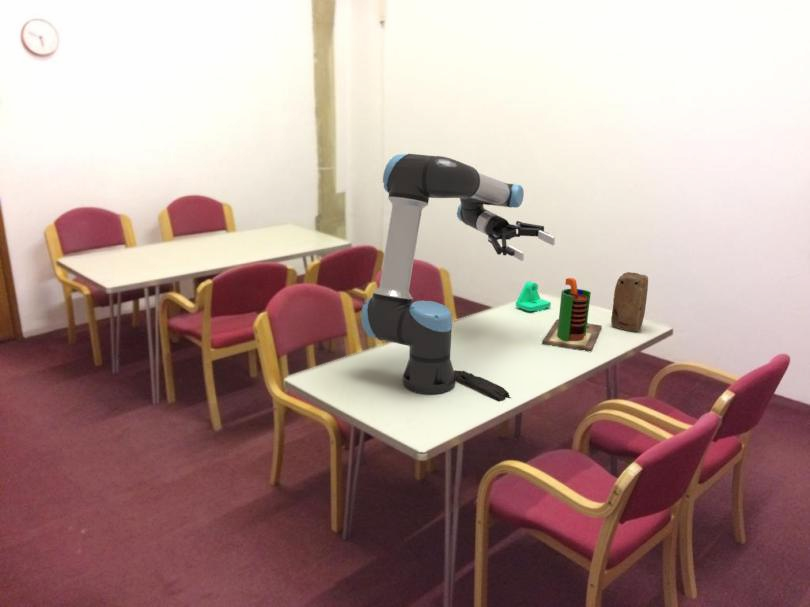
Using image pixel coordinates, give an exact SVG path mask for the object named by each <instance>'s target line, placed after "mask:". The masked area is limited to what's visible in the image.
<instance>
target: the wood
mask: <svg viewBox="0 0 810 607" xmlns="http://www.w3.org/2000/svg"><path fill="white" fill-rule="evenodd" d="M453 370H454V369H453ZM454 373H455V377H456V380H458V381H459V382H461V384H463V385H464V386H466V387H468V388H472V389H474V390H476V391H478V392H479V393H481V394H483V395H485V396H487V397H489V398H491V399H493V400H495V401H497V402H503V401H505V400H506V399H512V397H511V396H510V393H509V392H508V391H507V390H506V388H504V387H502V386H501V385H499V384H497V383H494V382H492V381H490V380H488V379H485V378H483V377H481V376H476V375H475V374H473V373H471V372H467V371H465V370H454Z"/></svg>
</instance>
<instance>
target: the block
mask: <svg viewBox="0 0 810 607" xmlns="http://www.w3.org/2000/svg"><path fill="white" fill-rule="evenodd" d="M648 289H649V277H648V275H645V274H640V273H638V272H629V271H627V272H624V273H622V275H620V276H619V277H618V279H617V281H616V284H615V286H614V291H613V292H614V294H613V298H612V299H613V300H612V301H613V304H612V312H611V318H610V322H611V324H610V325H611V326H612V327H615V328H617V329H621V330H625V331H628V332H638V331H640V330H641V328H642V325H643V322H644V318H645V313H646V305H647V299H648Z"/></svg>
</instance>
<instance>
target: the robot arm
mask: <svg viewBox="0 0 810 607" xmlns="http://www.w3.org/2000/svg"><path fill="white" fill-rule="evenodd" d="M382 175H383V176H382V183H383V188H384V190H385V191H386V192H387V194H388V197H387V198H388V200H389V202H390V203H391V213H390V219H389V224H388V230H387V236H386V244H385V249H384V250H385V251H384V257H383V261H382V262H383V264H382V269H381V275H380V276H381V277H380V281H379V287H378V288H377V289H375V290H374V291H373V292H372V297H369V298H368V299H366V300H365V302H364V304H363V305H362V308H361V316H360V317H361V319H360V320H361V324H362V328H363V330H364V332H365V334H366V335H367V336H368V337H371V338H373V339H377V340H378V341H386V342H390V343H393V344H394V343H395V344H399V345H403V346H408V347H409V355H408V356H409V357H408V361H407V363H406V366H405V369H404V372H403V375H402V384H403V386H404V387H405V388H406V389H407V390H409V391H411V392H415V393H418V394H423V395H424V394H425V395H437V394H442V393H448V392H449V391H450V392H451V390H453V389H454V388H455V387H456V382H457V381H456V380H457V378H456V377H455V373H454V367H453V364H452V360H451V351H452V350H451V347H452V329H453V321H452V320H453V319H452V313H451V310H450V309H449V308H448V307H447V306H446V305H444V304H442V303H440V302H436V301H431V300H416V301H413V299H414V298H413V297H412V295H411V293H410V285H411V278H412V274H413V268H414V260H415V254H416V250H417V249H416V246H417V242H418V236H419V228H420V224H421V217H422V212H423V209H424V208H426V207H427V206H429V201H430V198H431V199H459V200H460V204H459V205H458V207H457V211H456V216H457V218H458V220H459V221H461V222H462V223H463V224H464V225H465V226H469V227H471V228H472V229H475V230H477V231H479V232H481V233H483V234H484V235H486V236H487V241H488V242H489V243H490V244H491V245H492V247H493V249H494V250H495V253H496V255H502V256H507V255H508V256H511V257H514V258H516V259H517V260H519V261H521V262H523V261H524V257H525V253H524V252H523V251H521V250H520V249H518V248H516V247H514V246H512V245H510V244H508V245H507V240H511V239H512V238H520V237H537V238H538V239H539V240H541V241H543V242H544V243H547V244H548V245H551V246H554V245H555V244H556V242H555V240H556V237H555V236H552V235H551V234H550V233H549V232H546V231H545V226H544V225H539V224H534V223H529V222H523V221H519V220H516V221H515V224H511V223H509V221H508V220H507V219H505V218H504V217H502V216H500V215H498V214H496V213H494V212H492V211H490V210H488V209H486V208H485V207H484V205H486V206H495V207H505V208H516V209H517V208H520V206H522V204H523V201H524V195H525V194H524V192H525V191H524V188H523V186H522V185H520V184H515V183H507V182H504V181H501V180H499V179H496V178H493V177H491V176H487V175H485V174H483V173H479V172H478V170H477V169H476V168H475V167H473V166H471V165H468V164H466V163H463V162H461V161H459V160H456V159H453V158H451V157H446V156H443V155H442V156H441V155H427V154H417V153H406V154H405V153H399V154H396V155H394V156H393V157H392V158H390V160H389V161H388V162H387V164H386V165H385V168H384V171H383V174H382ZM498 240H501V244H500V243H499V241H498ZM501 245H502V246H501Z"/></svg>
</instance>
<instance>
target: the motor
mask: <svg viewBox="0 0 810 607" xmlns="http://www.w3.org/2000/svg"><path fill="white" fill-rule="evenodd" d="M566 285H567V286H569V287H570V288H565V289H562V290H561V292H560V293H561V294H560V302H559V314H558V319H559V322H558V331H557V337H558V338H560V339H562V340H564V341H569V340H570V341H581V340H583V339H584V336H586V328H587V323H588V319H589V318H588V317H589V309H590V302H591V294H592V293H591V291H590V290H586V289H580V288H578V284H577V280H576V278H573V277H567V278H565V286H566Z"/></svg>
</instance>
